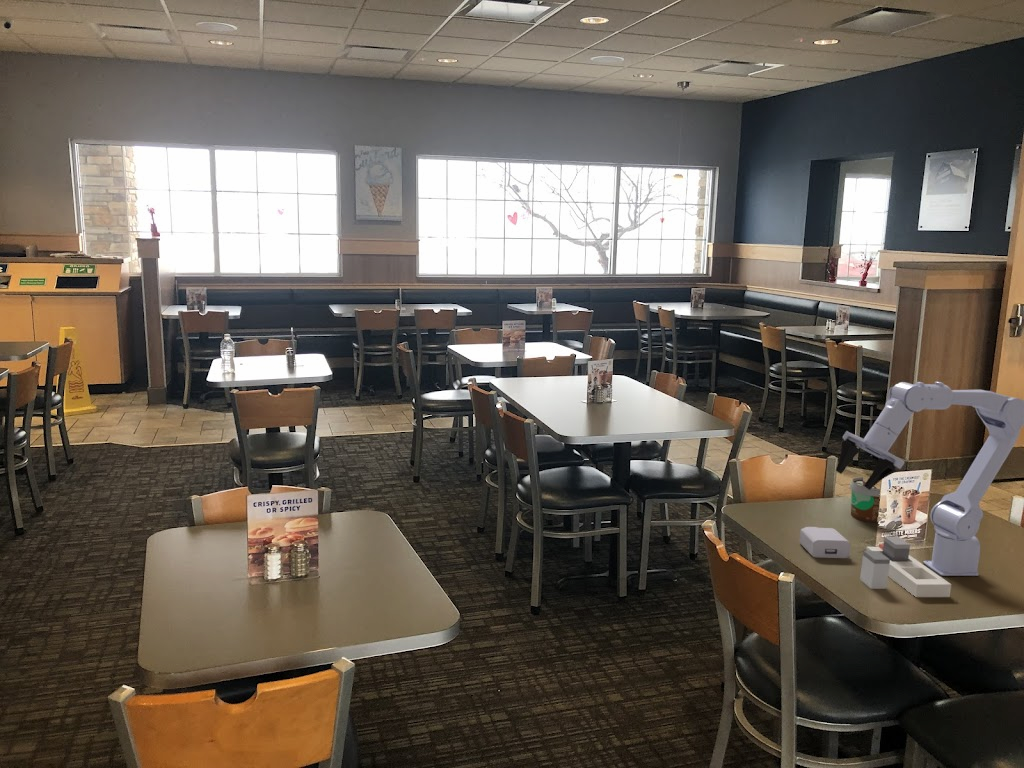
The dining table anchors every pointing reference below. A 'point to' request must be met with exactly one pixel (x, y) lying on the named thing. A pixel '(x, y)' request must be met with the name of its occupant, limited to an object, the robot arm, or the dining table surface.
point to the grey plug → (875, 569)
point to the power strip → (916, 577)
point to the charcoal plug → (896, 549)
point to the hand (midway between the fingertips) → (852, 479)
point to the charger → (824, 542)
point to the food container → (864, 501)
